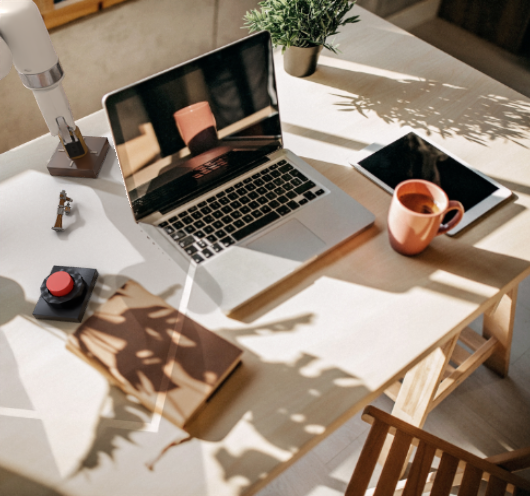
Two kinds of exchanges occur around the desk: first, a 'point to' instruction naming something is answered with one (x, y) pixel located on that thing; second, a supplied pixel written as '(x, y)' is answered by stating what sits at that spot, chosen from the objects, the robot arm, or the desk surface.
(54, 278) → the light button
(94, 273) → the switch box
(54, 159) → the dimmer console
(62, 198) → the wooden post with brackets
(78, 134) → the dimmer knob
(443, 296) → the desk surface
